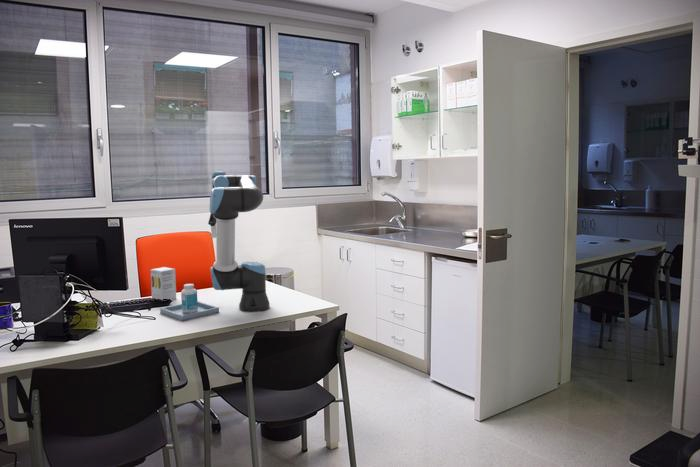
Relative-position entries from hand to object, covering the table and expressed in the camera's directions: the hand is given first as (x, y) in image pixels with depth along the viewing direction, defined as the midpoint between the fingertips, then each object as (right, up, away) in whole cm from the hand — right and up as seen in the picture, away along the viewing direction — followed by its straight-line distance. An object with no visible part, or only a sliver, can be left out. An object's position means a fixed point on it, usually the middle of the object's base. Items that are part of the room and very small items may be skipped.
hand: (221, 238), depth 296 cm
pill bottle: (-8, -36, -32) cm, 48 cm away
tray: (-8, -36, -32) cm, 49 cm away
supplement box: (-29, -33, -6) cm, 44 cm away
